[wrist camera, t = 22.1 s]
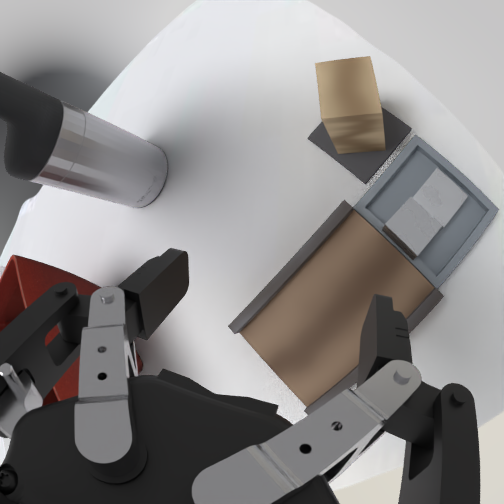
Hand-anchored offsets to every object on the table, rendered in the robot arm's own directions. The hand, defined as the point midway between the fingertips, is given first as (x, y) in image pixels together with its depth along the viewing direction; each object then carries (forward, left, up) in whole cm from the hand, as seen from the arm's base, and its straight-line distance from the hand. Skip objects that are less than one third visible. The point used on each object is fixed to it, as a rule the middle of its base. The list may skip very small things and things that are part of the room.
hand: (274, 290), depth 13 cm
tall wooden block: (-9, +13, -18) cm, 25 cm away
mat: (-9, +13, -19) cm, 24 cm away
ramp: (+2, -2, -19) cm, 19 cm away
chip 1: (+2, +8, -18) cm, 20 cm away
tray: (+2, +11, -19) cm, 22 cm away
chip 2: (+2, +13, -17) cm, 21 cm away
